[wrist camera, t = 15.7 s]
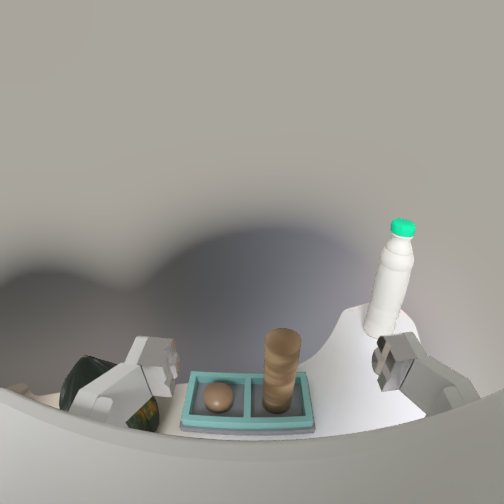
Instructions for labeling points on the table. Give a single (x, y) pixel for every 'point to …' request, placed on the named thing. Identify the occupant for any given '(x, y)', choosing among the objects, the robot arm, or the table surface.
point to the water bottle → (391, 280)
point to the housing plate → (242, 406)
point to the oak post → (280, 369)
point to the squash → (91, 370)
